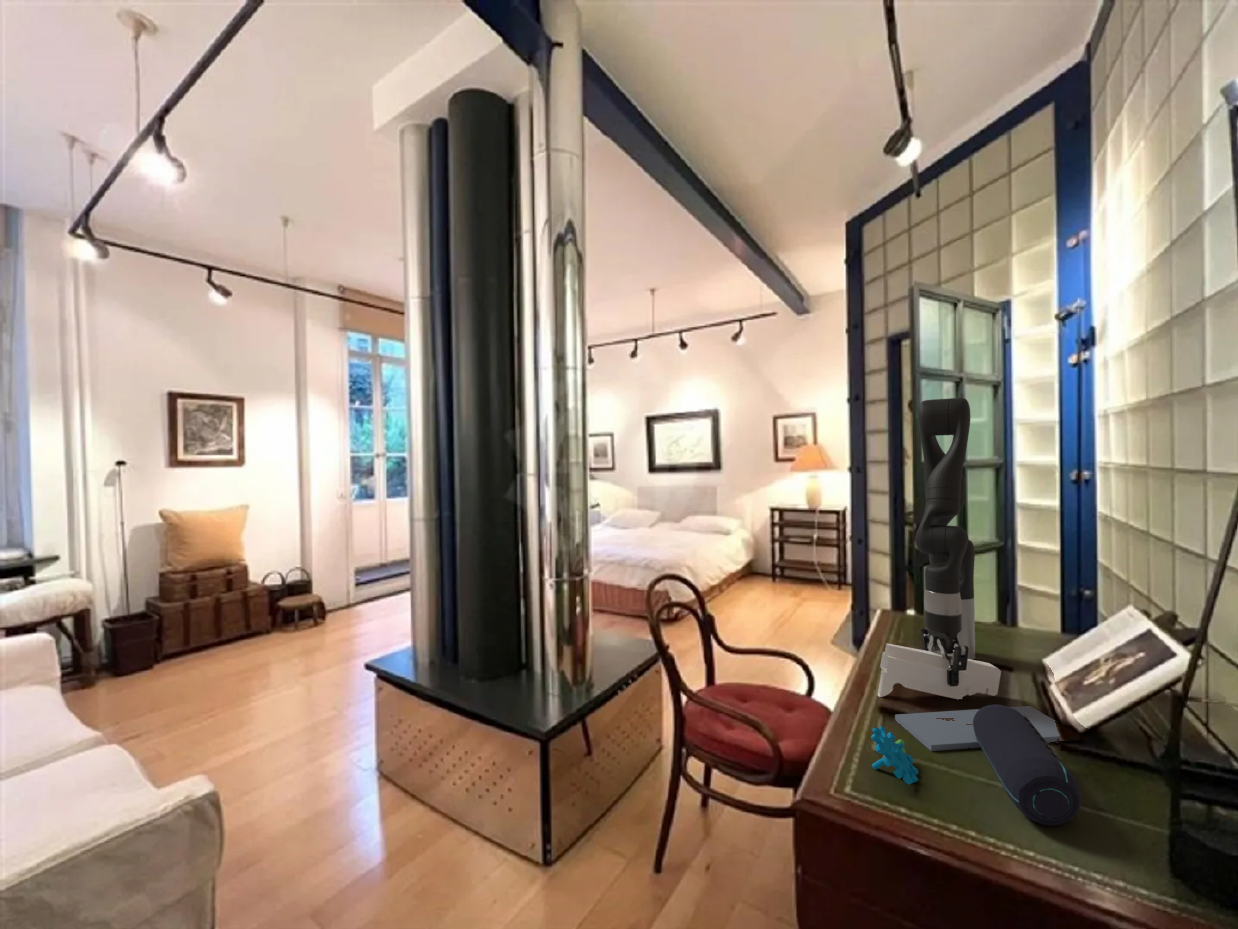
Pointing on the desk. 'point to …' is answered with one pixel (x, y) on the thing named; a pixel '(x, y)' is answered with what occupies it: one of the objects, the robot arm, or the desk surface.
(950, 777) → the desk surface
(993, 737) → the portable speaker
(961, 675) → the shelf bracket
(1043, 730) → the plate
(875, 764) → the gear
